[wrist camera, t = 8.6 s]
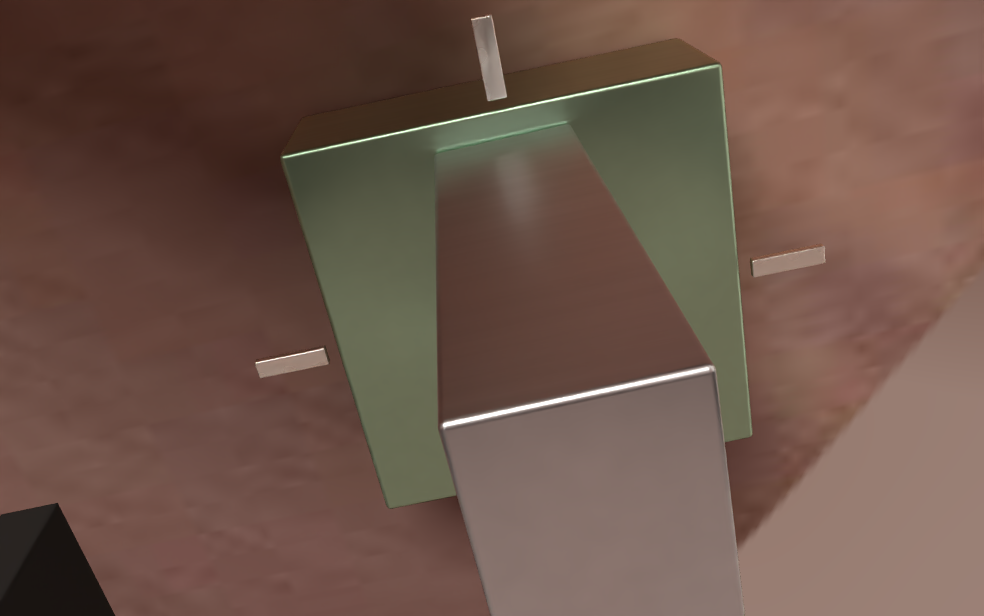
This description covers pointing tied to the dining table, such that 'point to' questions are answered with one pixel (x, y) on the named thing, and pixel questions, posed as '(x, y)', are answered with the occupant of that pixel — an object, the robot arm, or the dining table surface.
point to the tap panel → (411, 223)
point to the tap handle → (573, 395)
